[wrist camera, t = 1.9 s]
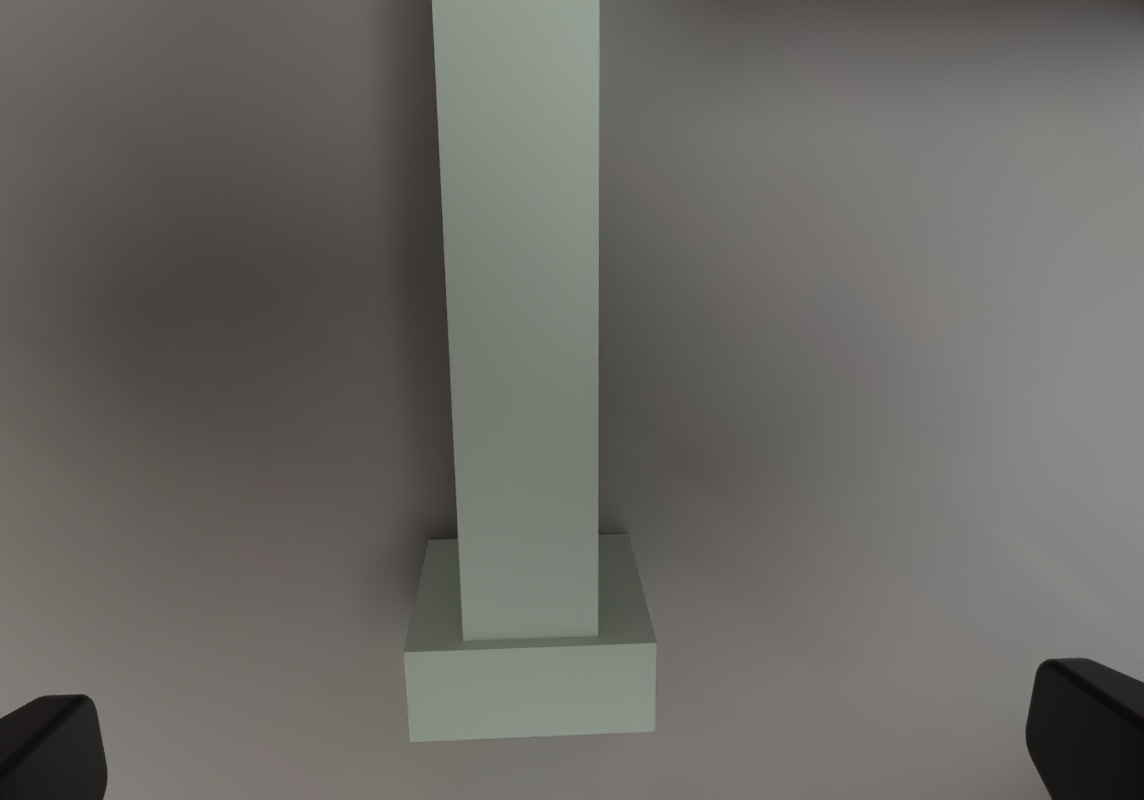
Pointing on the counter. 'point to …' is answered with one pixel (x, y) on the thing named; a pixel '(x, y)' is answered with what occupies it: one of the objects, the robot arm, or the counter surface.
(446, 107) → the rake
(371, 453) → the counter surface
